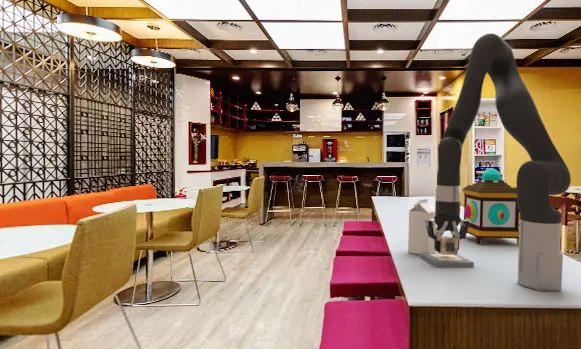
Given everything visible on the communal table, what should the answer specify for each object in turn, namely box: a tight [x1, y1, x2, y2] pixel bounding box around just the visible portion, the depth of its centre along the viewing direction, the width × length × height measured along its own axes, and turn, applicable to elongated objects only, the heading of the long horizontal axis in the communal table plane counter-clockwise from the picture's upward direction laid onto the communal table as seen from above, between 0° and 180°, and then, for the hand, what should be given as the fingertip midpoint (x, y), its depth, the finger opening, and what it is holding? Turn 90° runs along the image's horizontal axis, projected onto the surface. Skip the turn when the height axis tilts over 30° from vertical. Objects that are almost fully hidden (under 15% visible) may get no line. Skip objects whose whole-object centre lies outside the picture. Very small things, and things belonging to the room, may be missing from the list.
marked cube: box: [435, 235, 459, 255], centre depth 123 cm, size 5×5×5 cm
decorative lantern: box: [461, 167, 520, 246], centre depth 157 cm, size 20×20×30 cm
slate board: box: [419, 252, 475, 268], centre depth 124 cm, size 12×12×2 cm
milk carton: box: [407, 198, 437, 256], centre depth 135 cm, size 7×7×19 cm
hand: (446, 251), depth 124 cm, fingers closed on marked cube, 5 cm apart
